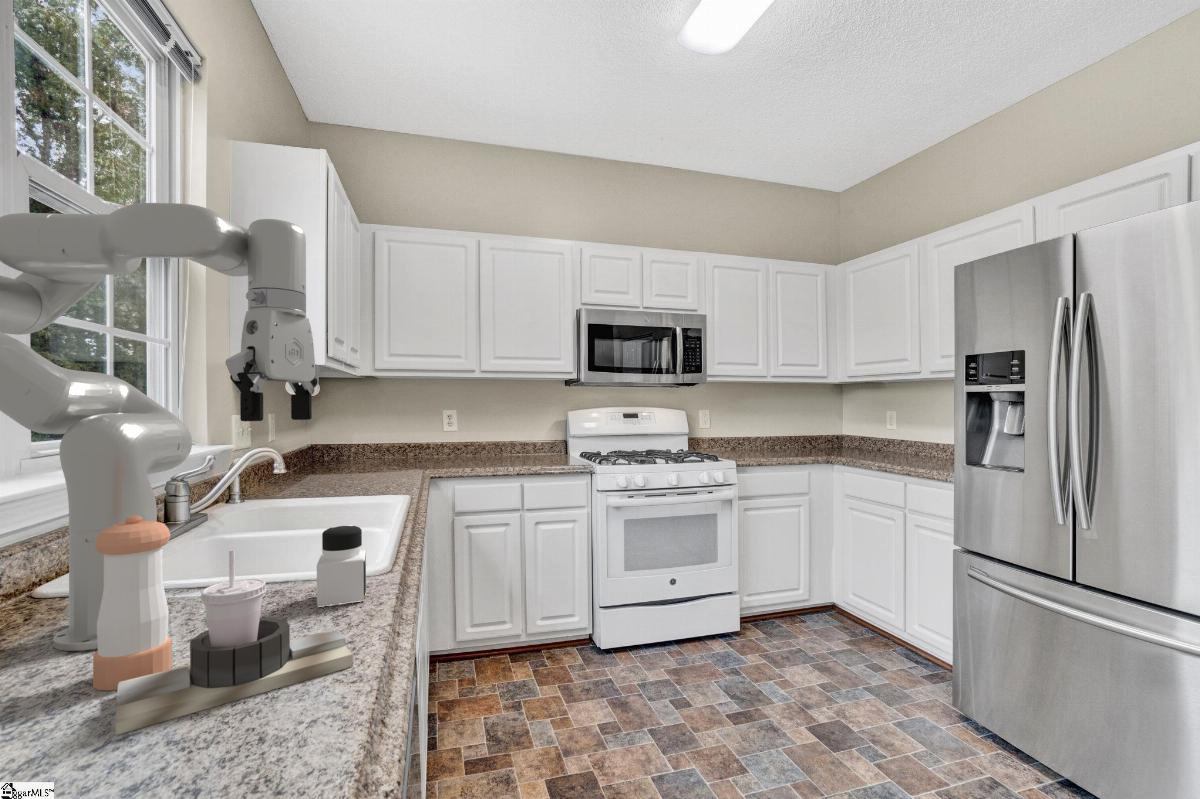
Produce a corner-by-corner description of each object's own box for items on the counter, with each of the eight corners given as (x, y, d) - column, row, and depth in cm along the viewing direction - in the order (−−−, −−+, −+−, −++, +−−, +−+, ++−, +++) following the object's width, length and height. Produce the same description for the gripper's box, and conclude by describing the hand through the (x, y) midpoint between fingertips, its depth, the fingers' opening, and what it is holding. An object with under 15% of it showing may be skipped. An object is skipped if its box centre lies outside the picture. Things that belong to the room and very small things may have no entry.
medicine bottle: (365, 602, 91) (364, 529, 91) (316, 608, 89) (316, 533, 89) (366, 589, 98) (365, 521, 98) (321, 595, 95) (320, 525, 95)
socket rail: (115, 735, 54) (115, 678, 54) (118, 695, 62) (118, 646, 62) (352, 666, 68) (352, 621, 68) (331, 640, 76) (331, 600, 76)
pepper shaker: (163, 656, 72) (163, 508, 72) (179, 673, 67) (179, 514, 67) (87, 678, 66) (87, 517, 66) (99, 697, 61) (99, 524, 62)
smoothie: (188, 686, 61) (188, 558, 61) (218, 660, 67) (217, 544, 67) (252, 680, 62) (252, 554, 62) (275, 655, 68) (275, 541, 68)
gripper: (253, 292, 74) (253, 421, 73) (337, 314, 91) (338, 419, 90) (205, 295, 75) (205, 422, 75) (297, 316, 92) (297, 419, 92)
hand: (278, 420), depth 82 cm, fingers open, 9 cm apart
